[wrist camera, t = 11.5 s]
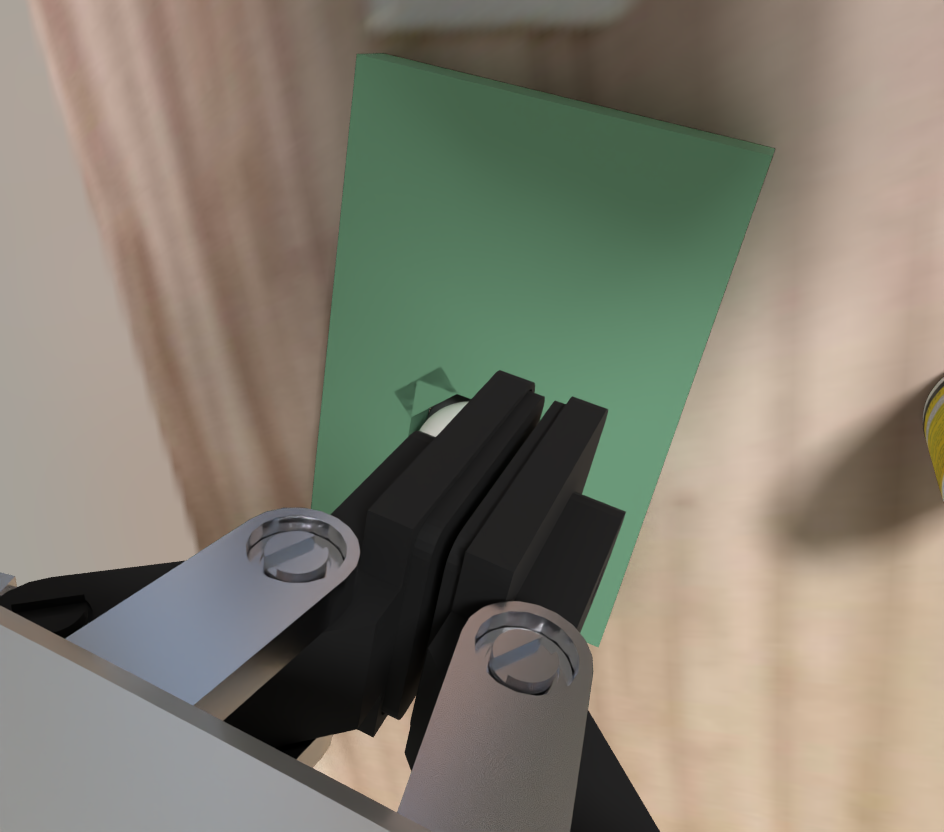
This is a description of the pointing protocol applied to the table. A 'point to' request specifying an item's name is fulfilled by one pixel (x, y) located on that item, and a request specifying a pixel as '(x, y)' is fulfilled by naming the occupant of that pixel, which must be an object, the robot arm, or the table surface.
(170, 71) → the table surface
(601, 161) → the mat
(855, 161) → the table surface
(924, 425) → the supplement bottle
